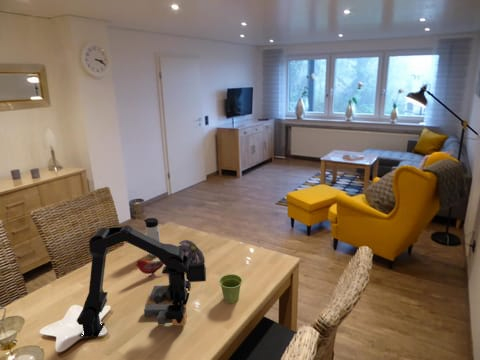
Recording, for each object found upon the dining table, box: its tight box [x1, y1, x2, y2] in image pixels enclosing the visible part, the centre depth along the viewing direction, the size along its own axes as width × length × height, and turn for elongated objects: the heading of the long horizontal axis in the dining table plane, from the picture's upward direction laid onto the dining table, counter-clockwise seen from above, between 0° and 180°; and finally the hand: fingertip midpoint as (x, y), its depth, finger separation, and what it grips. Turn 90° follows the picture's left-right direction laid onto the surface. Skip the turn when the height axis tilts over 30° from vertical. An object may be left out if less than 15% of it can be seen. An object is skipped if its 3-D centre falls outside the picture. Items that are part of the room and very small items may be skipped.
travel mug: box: [144, 217, 161, 258], centre depth 172 cm, size 6×7×20 cm
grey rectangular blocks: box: [143, 285, 172, 317], centre depth 136 cm, size 16×11×3 cm
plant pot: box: [218, 273, 243, 304], centre depth 136 cm, size 9×9×9 cm
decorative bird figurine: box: [134, 259, 164, 278], centre depth 155 cm, size 3×18×10 cm, turn 123°
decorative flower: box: [177, 239, 205, 264], centre depth 164 cm, size 14×12×15 cm
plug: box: [157, 304, 188, 326], centre depth 123 cm, size 4×10×6 cm, turn 90°
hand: (180, 318), depth 123 cm, fingers closed on plug, 4 cm apart
